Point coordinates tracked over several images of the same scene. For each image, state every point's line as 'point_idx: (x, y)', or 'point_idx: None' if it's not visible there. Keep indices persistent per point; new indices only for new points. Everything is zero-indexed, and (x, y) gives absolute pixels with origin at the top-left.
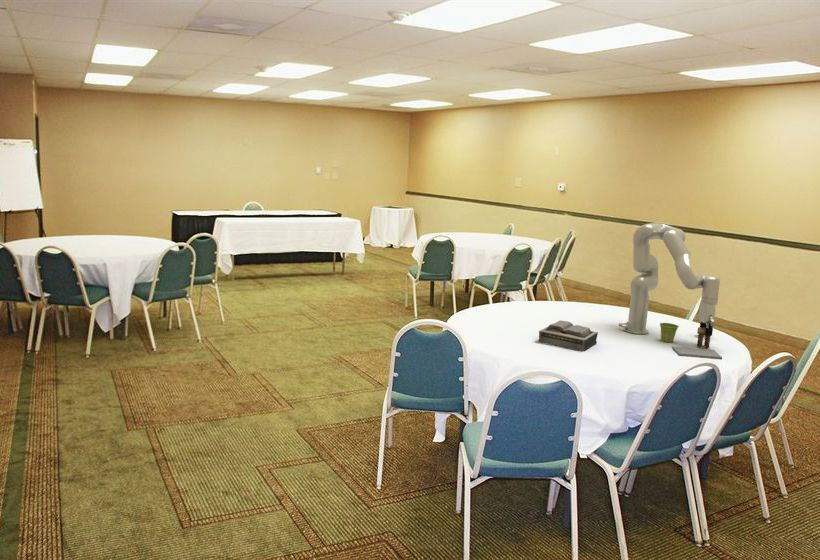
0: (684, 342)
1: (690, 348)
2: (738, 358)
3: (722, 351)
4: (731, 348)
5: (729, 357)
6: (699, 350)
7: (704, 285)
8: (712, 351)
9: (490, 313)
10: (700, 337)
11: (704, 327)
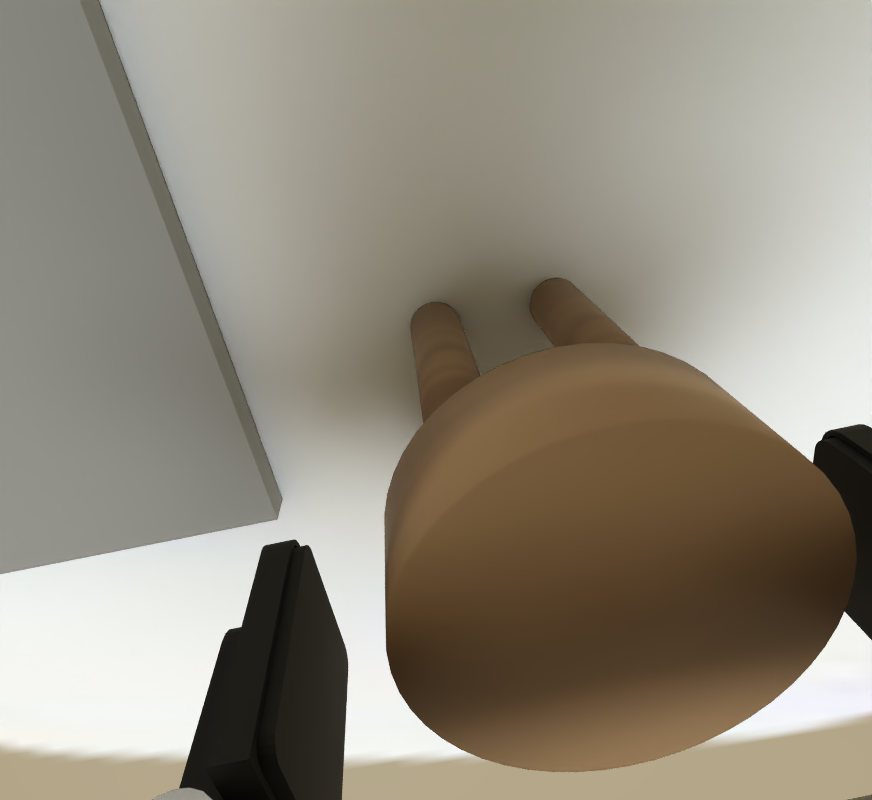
0: (740, 36)
1: (59, 108)
2: (127, 726)
3: (380, 597)
4: None
5: (93, 654)
6: (28, 293)
7: None
8: (141, 497)
9: None
10: (444, 389)
11: (836, 609)
